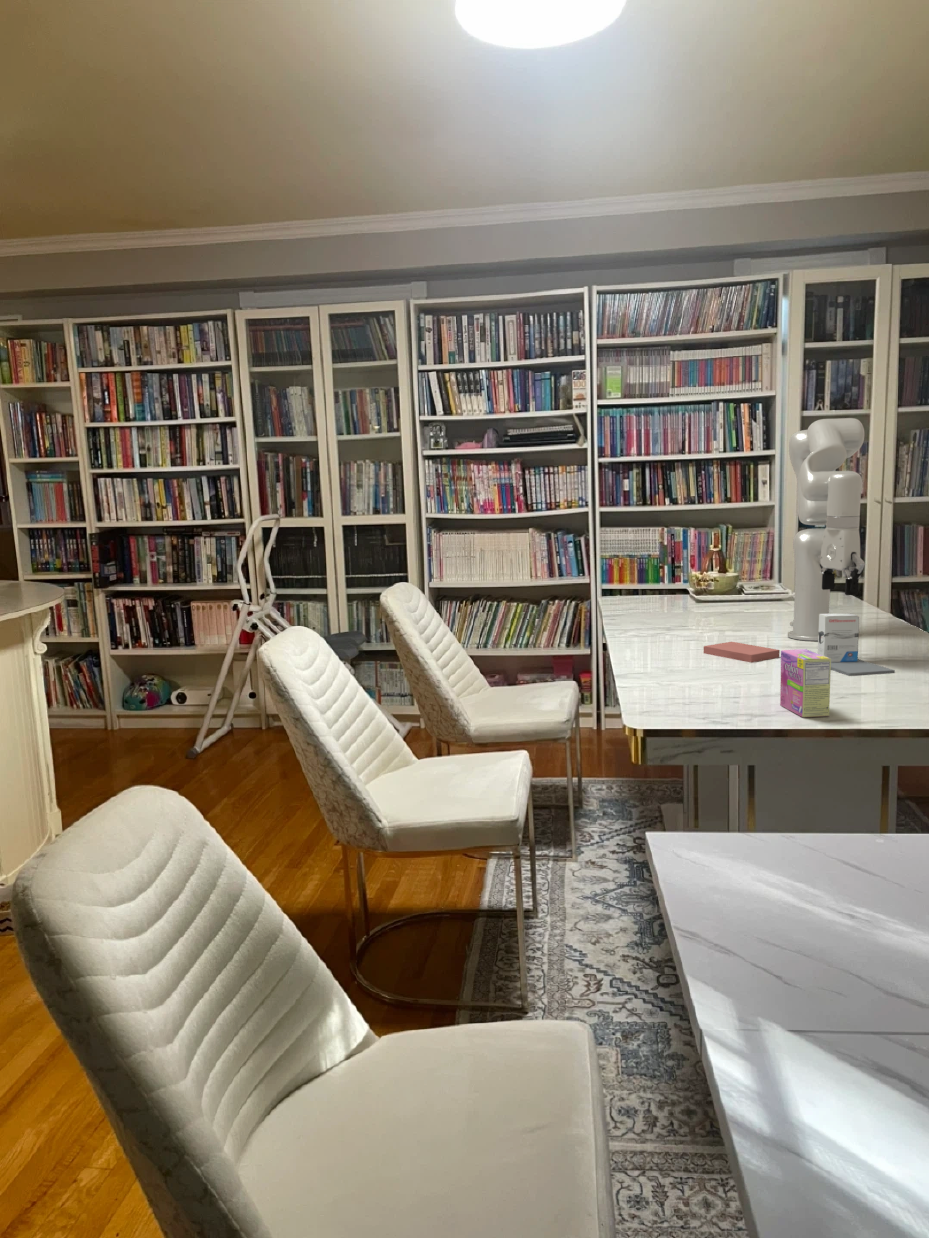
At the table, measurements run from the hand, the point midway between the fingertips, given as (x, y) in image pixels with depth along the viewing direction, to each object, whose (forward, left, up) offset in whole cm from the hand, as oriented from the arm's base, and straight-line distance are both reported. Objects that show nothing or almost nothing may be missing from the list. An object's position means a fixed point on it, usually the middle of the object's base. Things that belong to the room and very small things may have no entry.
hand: (839, 592), depth 225 cm
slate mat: (+6, 0, -18) cm, 19 cm away
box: (+41, -34, -18) cm, 56 cm away
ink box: (0, 0, -18) cm, 18 cm away
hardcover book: (-16, -18, -19) cm, 30 cm away
